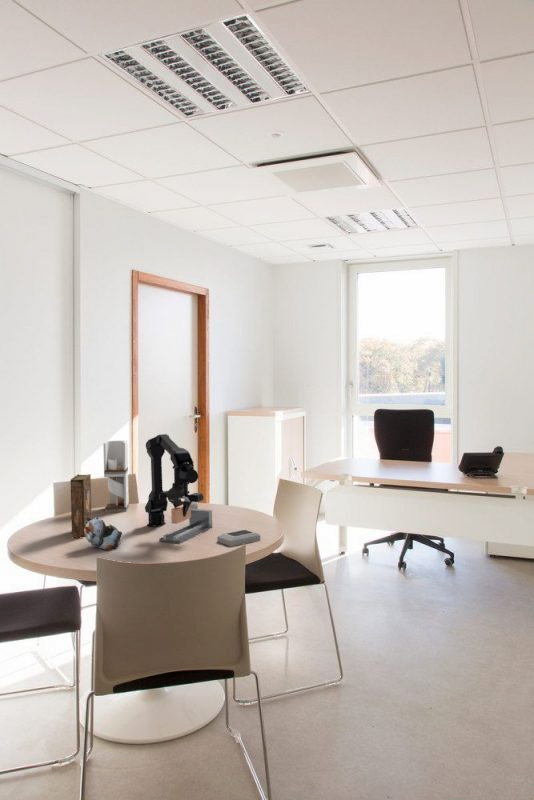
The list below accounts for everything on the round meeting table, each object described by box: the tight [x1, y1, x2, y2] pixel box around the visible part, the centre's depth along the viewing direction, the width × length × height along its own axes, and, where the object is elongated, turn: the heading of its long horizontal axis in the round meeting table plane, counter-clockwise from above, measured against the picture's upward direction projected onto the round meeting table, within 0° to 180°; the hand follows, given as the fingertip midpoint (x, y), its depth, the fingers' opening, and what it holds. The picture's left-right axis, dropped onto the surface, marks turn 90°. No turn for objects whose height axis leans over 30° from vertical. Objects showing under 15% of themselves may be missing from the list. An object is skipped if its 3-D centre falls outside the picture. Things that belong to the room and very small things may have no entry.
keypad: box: [216, 529, 261, 548], centre depth 260 cm, size 10×4×15 cm
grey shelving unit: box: [103, 440, 130, 513], centre depth 324 cm, size 11×11×35 cm
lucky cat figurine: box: [84, 516, 123, 551], centre depth 253 cm, size 15×12×14 cm
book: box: [70, 473, 93, 539], centre depth 275 cm, size 16×6×25 cm, turn 5°
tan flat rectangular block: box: [170, 505, 191, 525], centre depth 268 cm, size 2×12×6 cm, turn 157°
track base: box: [158, 508, 213, 544], centre depth 272 cm, size 10×28×8 cm, turn 157°
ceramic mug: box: [181, 499, 199, 509], centre depth 312 cm, size 11×8×8 cm
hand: (181, 516), depth 268 cm, fingers closed on tan flat rectangular block, 2 cm apart
